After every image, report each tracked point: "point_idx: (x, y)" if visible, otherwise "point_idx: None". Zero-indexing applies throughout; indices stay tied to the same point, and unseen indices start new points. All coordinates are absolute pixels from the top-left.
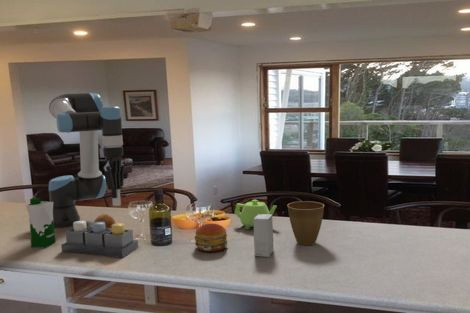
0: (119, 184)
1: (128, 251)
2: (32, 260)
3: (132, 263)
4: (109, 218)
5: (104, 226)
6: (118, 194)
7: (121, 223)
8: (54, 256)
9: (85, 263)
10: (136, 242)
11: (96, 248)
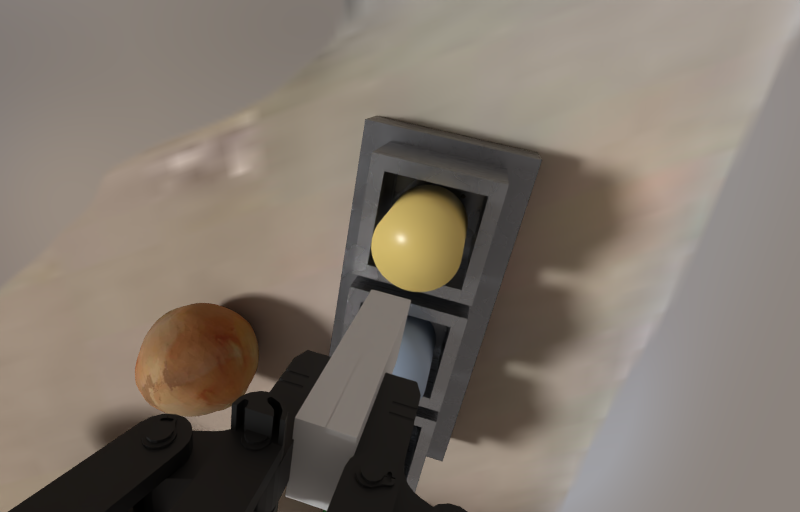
0: (244, 490)
1: (476, 140)
2: (537, 504)
3: (641, 61)
4: (182, 353)
5: None
6: (369, 380)
7: (380, 235)
8: (497, 448)
9: (601, 310)
10: (383, 122)
11: (492, 308)
